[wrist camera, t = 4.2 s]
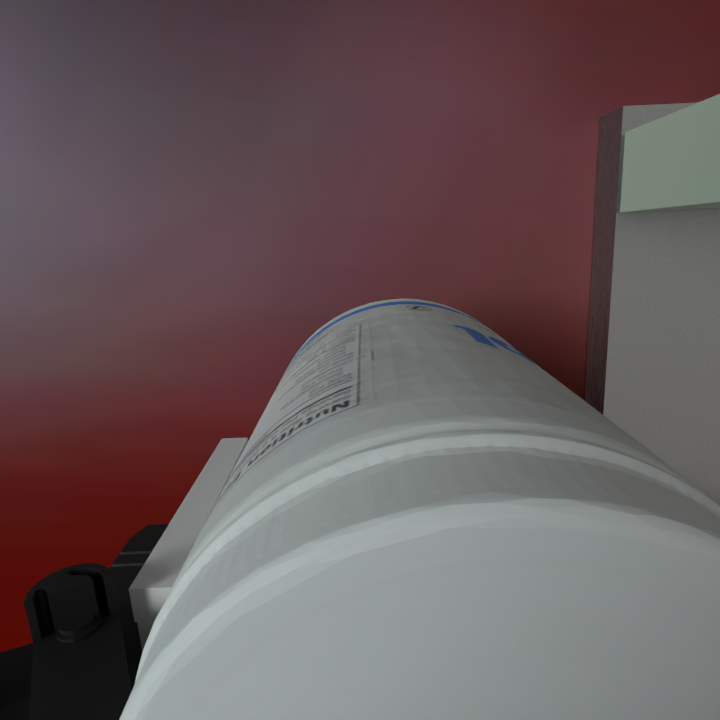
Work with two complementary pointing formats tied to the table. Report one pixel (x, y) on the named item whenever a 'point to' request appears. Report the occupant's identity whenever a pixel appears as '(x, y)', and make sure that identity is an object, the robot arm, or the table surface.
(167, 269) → the table surface
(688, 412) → the vise
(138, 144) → the table surface
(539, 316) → the table surface
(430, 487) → the supplement tub
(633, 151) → the block
